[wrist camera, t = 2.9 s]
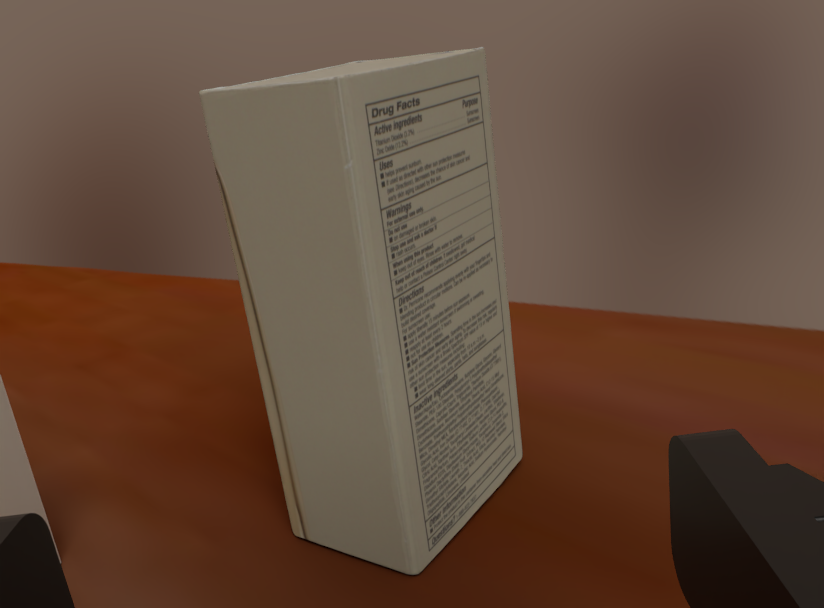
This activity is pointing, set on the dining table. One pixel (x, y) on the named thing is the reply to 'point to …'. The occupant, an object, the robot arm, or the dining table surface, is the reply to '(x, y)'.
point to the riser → (16, 469)
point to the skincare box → (374, 294)
